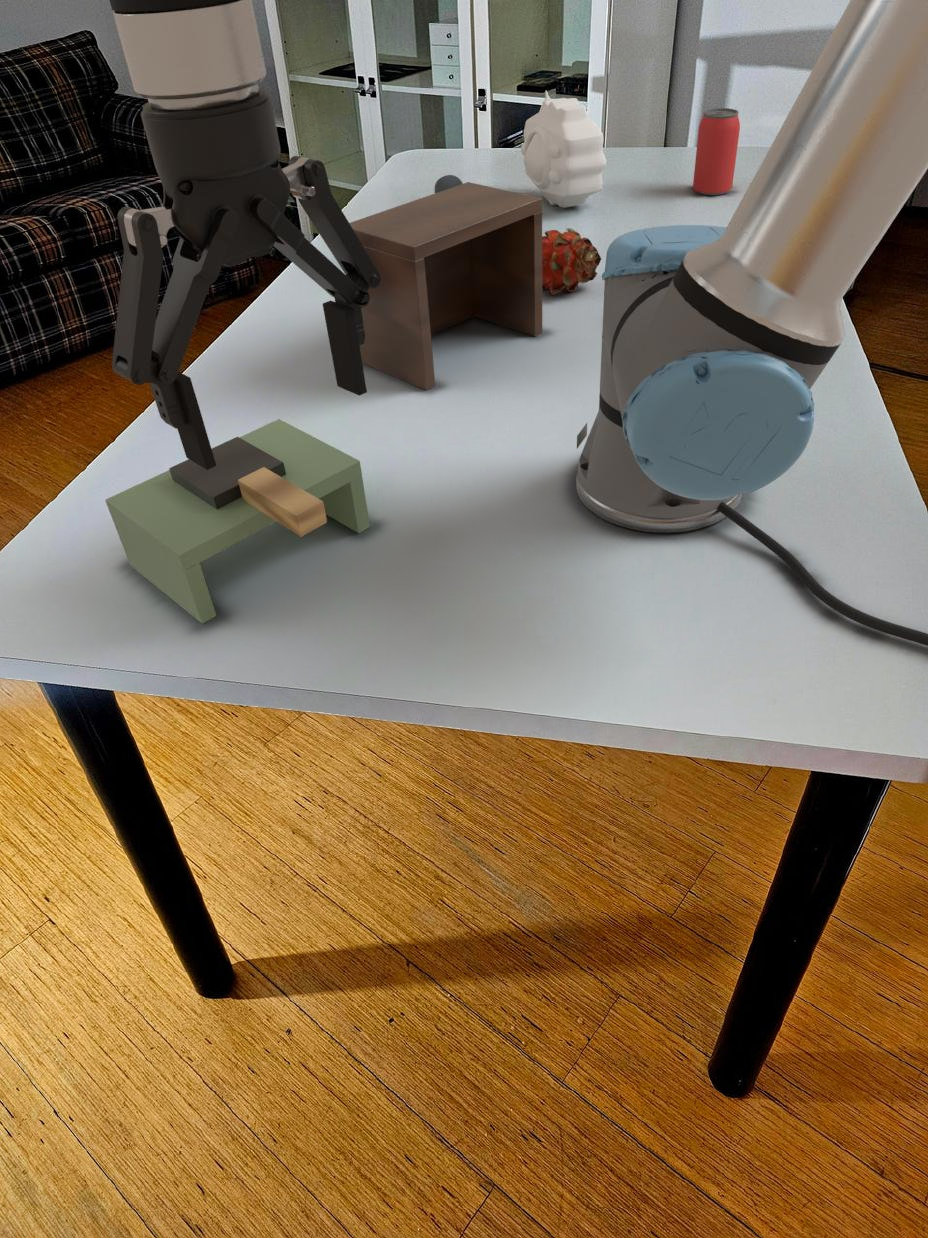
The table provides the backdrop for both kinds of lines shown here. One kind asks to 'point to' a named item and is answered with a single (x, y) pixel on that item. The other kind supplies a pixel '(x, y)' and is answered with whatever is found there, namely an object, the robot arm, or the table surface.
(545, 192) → the white ridged figurine
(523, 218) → the wooden side table
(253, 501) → the wood-handled square paddle
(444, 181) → the paintbrush
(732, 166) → the beer can
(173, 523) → the low shelf
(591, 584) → the table surface
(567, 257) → the dragon fruit
